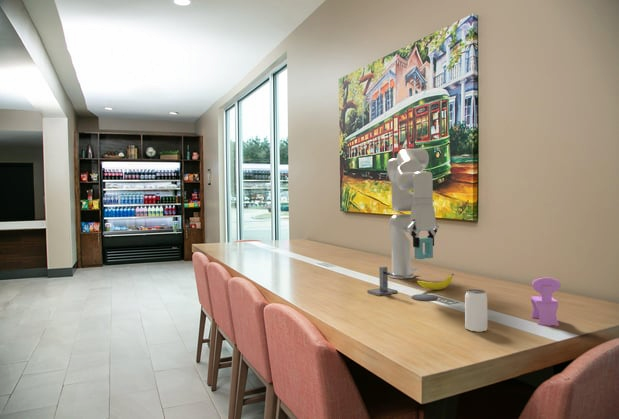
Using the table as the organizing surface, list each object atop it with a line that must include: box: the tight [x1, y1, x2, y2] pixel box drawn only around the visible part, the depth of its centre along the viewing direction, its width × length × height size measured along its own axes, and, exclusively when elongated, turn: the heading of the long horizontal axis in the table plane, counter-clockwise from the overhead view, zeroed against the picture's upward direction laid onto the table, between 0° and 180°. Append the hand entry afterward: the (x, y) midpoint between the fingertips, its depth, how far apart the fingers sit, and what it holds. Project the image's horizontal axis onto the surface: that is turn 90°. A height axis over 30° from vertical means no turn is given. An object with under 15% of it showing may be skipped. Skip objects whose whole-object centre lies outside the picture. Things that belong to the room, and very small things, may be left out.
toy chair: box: [530, 276, 561, 327], centre depth 144 cm, size 8×9×15 cm
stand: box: [366, 265, 405, 297], centre depth 186 cm, size 10×18×11 cm, turn 28°
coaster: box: [411, 293, 438, 302], centre depth 179 cm, size 10×10×1 cm
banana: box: [416, 273, 455, 291], centre depth 193 cm, size 3×19×6 cm, turn 111°
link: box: [414, 237, 434, 260], centre depth 178 cm, size 7×3×8 cm, turn 118°
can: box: [464, 288, 488, 333], centre depth 138 cm, size 6×6×12 cm
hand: (423, 246), depth 178 cm, fingers closed on link, 7 cm apart
